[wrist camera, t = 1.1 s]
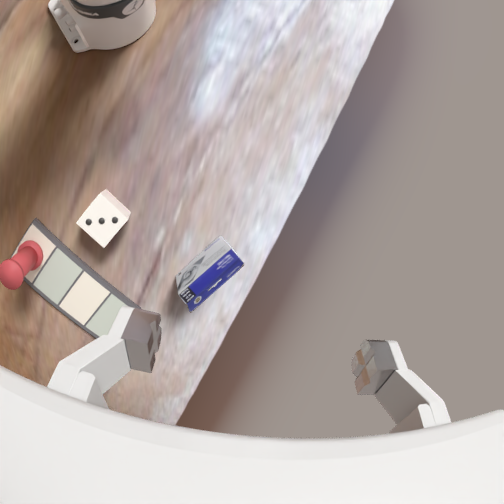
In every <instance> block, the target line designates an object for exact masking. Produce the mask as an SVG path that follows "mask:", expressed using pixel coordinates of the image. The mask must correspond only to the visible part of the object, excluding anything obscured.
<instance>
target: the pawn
mask: <svg viewBox="0 0 504 504" xmlns="http://www.w3.org/2000/svg"><path fill="white" fill-rule="evenodd" d="M42 261H43V251H42V249H41V247H40V245H39V244H38V243H37V242H35V241H32V240H27V241H25V242H24V243H22V244H21V245H20V246H19V248H18V251H17V253H16V254H15V255H14V256H13V257H12V258H11V259H6V260H5V261H3V262H2V263H1V264H0V281H1V282H2V284H3V285H4V286H5V287H6V288H8V289H11V290H15V289H17V288H19V287H20V285H21V284H22V283H23V280H24V277H25V276H26V275H27V274H28V272H29V271H33V270H36V269H37V268H38V267H39V266H40V265H41V263H42Z"/></svg>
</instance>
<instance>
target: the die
mask: <svg viewBox="0 0 504 504" xmlns="http://www.w3.org/2000/svg"><path fill="white" fill-rule="evenodd" d="M130 213H131V212H130V211H129V210H128V209H127V208H126V207H125V206H124V205H123V204H122V203H120V202H119V201H118V200H117V199H116V198H115V197H114V196H113V195H112V194H111V193H110V192H109V191H108V190H107V189H105V190H104V191H102V192H101V193H100V194H99V195H98V196H97V197H96V199H95V200H94V201H93V202H92V203H91V205H90V206H89V207H88V208H87V210H86V211H85V212H84V213H83V215H82V216H81V217H80V219H79V220H78V221H77V222H76V223H77V224H78V225H79V226H80V227H81V228H82V229H83V230H84V231H86V232H87V233H88V234H89V235H90V236H91V237H92V238H93V239H94V240H96V241H97V242H98V243H99V244H100V245H101V246H102V247H103V248H105V246H106V245H107V244H108V243H109V241H110V240H111V239H112V238H113V237H114V235H115V234H116V233H117V232H118V231H119V230H120V228H121V227H122V226H123V225H124V224H125V223H126V221H127V220H128V219H129V216H130Z"/></svg>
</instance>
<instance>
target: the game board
mask: <svg viewBox="0 0 504 504" xmlns="http://www.w3.org/2000/svg"><path fill="white" fill-rule="evenodd" d="M27 240H32V241H35V242H37V243H38V244H39V245H40V247H41V249H42V251H43V261H42V263H41V265H40V266H39V267H38V268H37V269H36V270H33V271H29V272H28V274H27V275H26V276H25V277H24V281H25V282H26V283H27V284H28V285H30V286H31V287H32V288H33V289H34V290H35V291H36V292H38V293H39V294H40V295H41V296H42V297H43V298H45V299H46V300H47V301H48V302H49V303H51V304H52V305H53V306H54V307H55V308H57V309H58V310H59V311H60V312H62V313H63V314H64V315H66V316H67V317H68V318H69V319H71V320H72V321H73V322H75V323H76V324H77V325H79V326H80V327H81V328H83V329H84V330H85V331H87V332H88V333H90V334H91V335H92V336H94V337H95V338H99V337H100V336H102V335H108V333H109V330H110V328H111V326H112V324H113V322H114V320H115V318H116V316H117V314H118V312H119V310H120V308H121V307H122V306H123V305H125V306H129V307H133V308H138V309H141V307H139V306H138V305H137V304H135V303H134V302H133V301H131V300H130V299H129V298H127V297H126V296H125V295H124V294H122V293H121V292H120V291H118V290H117V289H116V288H115V287H113V286H112V285H111V284H110V283H108V282H107V281H106V280H105V279H104V278H102V277H101V276H100V275H99V274H98V273H96V272H95V271H94V270H93V269H92V268H90V267H89V266H88V265H87V264H86V263H85V262H83V261H82V260H81V259H80V258H79V257H78V256H77V255H75V254H74V253H73V252H72V251H71V250H70V249H69V248H68V247H66V246H65V245H64V244H63V243H62V242H61V241H60V240H59V239H58V238H57V237H56V236H55V235H53V234H52V233H51V232H50V231H49V230H48V229H47V228H46V227H45V226H44V225H43V224H42V223H41V222H40V221H39V220H38V219H37V218H35V219H34V220H33V222H32V223H31V225H30V226H29V228H28V229H27V231H26V233H25V234H24V236H23V237H22V239H21V241H20V242H19V244H18V246H17V247H16V249H15V251H14V253H13V254H12V256H11V258H12V257H13V256H14V255H15V254H16V253H17V251H18V248H19V246H20V245H21V244H22V243H24V242H25V241H27ZM11 258H10V259H11Z"/></svg>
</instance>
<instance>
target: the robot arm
mask: <svg viewBox="0 0 504 504" xmlns="http://www.w3.org/2000/svg"><path fill="white" fill-rule="evenodd" d="M155 1H156V0H50V2H49V4H48V7H49V10H50V11H51V13H52V15H53V17H54V19H55V20H56V22H57V24H58V26H59V27H60V29H61V31H62V32H63V34H64V36H65V38H66V39H67V41H68V43H69V44H70V46H71V48H72V49H73V51H74V52H76V53H79V52H84V51H87V50H90V49H102V50H108V49H116V48H120V47H123V46H126V45H128V44H130V43H132V42H134V41H135V40H137V39H138V38H140V37H141V36H142V35H143V34H144V33H145V32H146V31H147V30H148V29H149V28H150V26H151V25H152V23H153V21H154V18H155V14H156V5H155ZM76 40H78V42H77V43H75V41H76ZM160 321H161V317H160V314H159V313H155V312H151V311H146V310H142V309H138V308H133V307H129V306H125V305H123V306H122V307H121V308H120V310H119V312H118V314H117V316H116V318H115V320H114V322H113V324H112V326H111V328H110V330H109V333H108V335H102V336H100V337H99V338H97V339H96V340H94V341H92V342H91V343H89V344H87V345H86V346H84V347H83V348H81V349H79V350H78V351H76V352H74V353H73V354H71V355H70V356H68V357H66V358H65V359H63V360H61V361H60V362H59V364H58V365H57V367H56V369H55V371H54V374H53V376H52V378H51V380H50V382H49V384H48V386H47V387H45V386H43V385H41V384H38V383H36V382H34V381H31V380H29V379H27V378H25V377H23V376H21V375H19V374H17V373H15V372H13V371H11V370H9V369H7V368H5V367H3V366H1V365H0V504H504V410H496V411H493V412H490V413H486V414H483V415H479V416H476V417H472V418H468V419H465V420H460V421H456V422H452V423H451V420H450V417H449V414H448V412H447V409H446V406H445V403H444V401H443V400H442V399H441V398H440V397H439V396H438V395H437V394H436V393H435V392H434V391H433V390H432V389H430V387H428V386H427V385H426V384H425V383H424V382H423V381H422V380H421V379H420V378H419V377H418V376H417V375H416V374H415V373H413V371H411V370H408V368H407V366H406V363H405V360H404V358H403V355H402V352H401V350H400V347H399V345H398V343H397V342H396V341H385V340H364V341H363V342H362V343H361V345H360V347H361V350H359V351H357V352H356V353H355V355H354V357H353V359H352V372H353V374H354V375H355V376H356V377H357V378H356V380H355V385H356V390H357V394H358V395H366V394H367V395H375V397H376V398H377V400H378V401H379V402H380V404H381V405H382V406H383V407H384V409H385V410H386V411H387V413H388V414H389V415H390V416H391V418H392V419H393V420H394V421H395V423H396V424H397V425H396V426H395V427H394V428H393V429H392V430H391V431H390V432H389V434H381V435H371V436H361V437H343V438H274V437H257V436H246V435H236V434H226V433H218V432H211V431H203V430H198V429H192V428H186V427H180V426H175V425H170V424H165V423H160V422H156V421H151V420H147V419H143V418H139V417H135V416H131V415H127V414H124V413H120V412H116V411H113V410H110V409H109V408H108V406H107V404H106V401H105V399H104V397H103V395H102V394H104V393H105V392H106V391H107V390H108V389H109V388H111V387H112V386H113V385H114V384H115V383H116V382H118V381H119V380H120V379H121V378H122V377H123V376H124V375H126V374H127V373H128V372H129V371H130V370H131V369H134V370H139V371H143V372H148V373H152V369H153V366H154V363H155V353H156V352H157V351H158V349H159V346H160V341H161V327H160V326H159V324H160Z"/></svg>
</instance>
